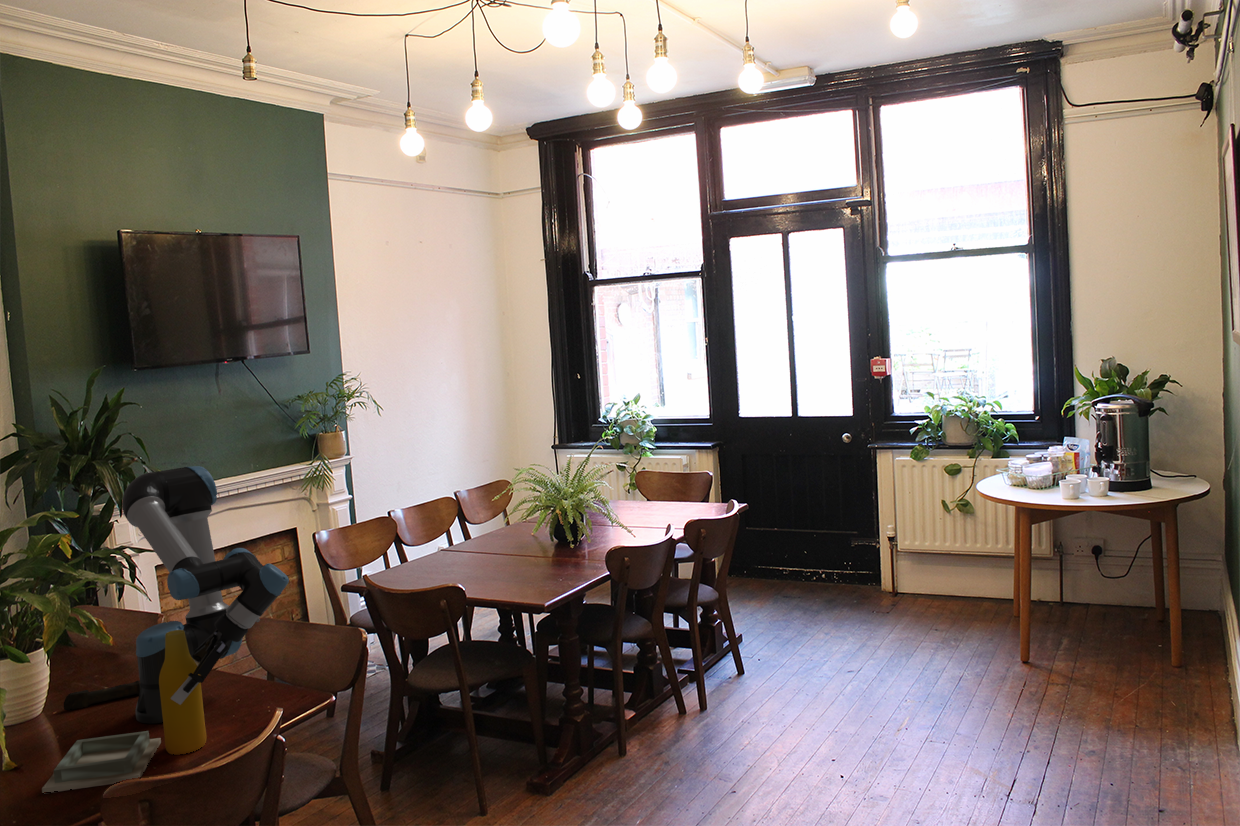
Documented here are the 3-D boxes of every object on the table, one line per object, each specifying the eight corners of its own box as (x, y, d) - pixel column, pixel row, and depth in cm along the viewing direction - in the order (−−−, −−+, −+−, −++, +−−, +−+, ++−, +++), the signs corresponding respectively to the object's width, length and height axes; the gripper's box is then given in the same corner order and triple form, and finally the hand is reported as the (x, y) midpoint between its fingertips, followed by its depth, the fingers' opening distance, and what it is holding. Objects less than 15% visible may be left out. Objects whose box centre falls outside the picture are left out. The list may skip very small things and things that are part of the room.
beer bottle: (162, 746, 233) (149, 632, 230) (201, 735, 239) (190, 623, 236) (170, 759, 226) (158, 642, 223) (211, 747, 232) (200, 632, 229)
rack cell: (72, 754, 231) (71, 737, 231) (161, 742, 236) (159, 726, 235) (42, 793, 212) (40, 775, 212) (139, 779, 216) (137, 762, 216)
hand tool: (141, 691, 271) (139, 676, 270) (141, 696, 267) (140, 680, 267) (64, 708, 261) (62, 692, 261) (64, 713, 258) (62, 696, 258)
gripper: (251, 644, 224) (188, 718, 220) (247, 615, 247) (190, 682, 243) (225, 626, 222) (160, 701, 217) (223, 599, 244) (165, 666, 240)
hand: (176, 691), depth 230 cm, fingers open, 13 cm apart
